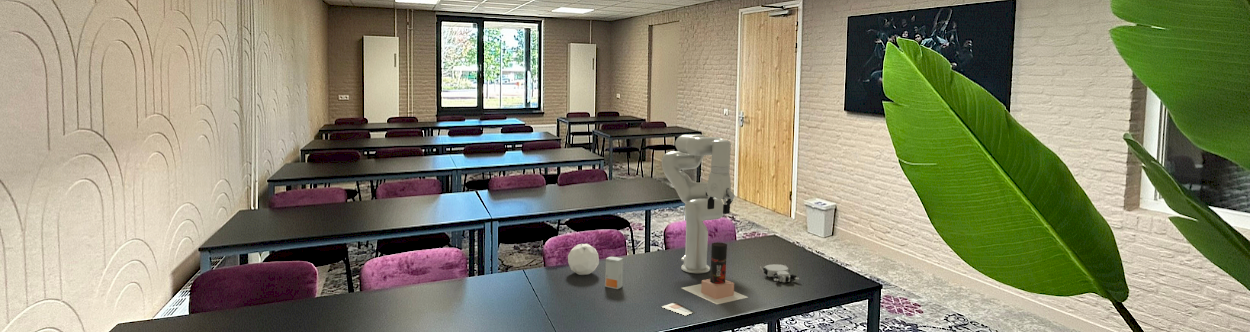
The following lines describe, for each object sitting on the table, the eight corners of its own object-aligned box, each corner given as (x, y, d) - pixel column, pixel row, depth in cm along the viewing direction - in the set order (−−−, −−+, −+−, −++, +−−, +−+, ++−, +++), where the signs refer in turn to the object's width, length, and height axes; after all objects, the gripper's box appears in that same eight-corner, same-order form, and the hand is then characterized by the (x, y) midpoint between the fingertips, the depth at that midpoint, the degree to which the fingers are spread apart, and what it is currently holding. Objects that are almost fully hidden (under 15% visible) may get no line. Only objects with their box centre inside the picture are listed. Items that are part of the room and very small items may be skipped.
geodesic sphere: (607, 266, 302) (600, 236, 308) (575, 269, 297) (569, 238, 303) (597, 278, 314) (591, 248, 320) (567, 281, 309) (561, 251, 315)
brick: (701, 292, 286) (701, 280, 285) (718, 288, 291) (719, 276, 290) (716, 299, 279) (716, 286, 278) (733, 295, 284) (734, 283, 283)
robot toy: (800, 285, 304) (784, 272, 318) (801, 275, 303) (785, 262, 317) (773, 287, 301) (758, 273, 315) (774, 277, 300) (759, 264, 314)
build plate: (680, 290, 291) (680, 287, 291) (711, 284, 300) (711, 281, 300) (716, 307, 273) (716, 304, 273) (748, 299, 282) (748, 297, 282)
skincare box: (604, 287, 293) (605, 258, 291) (609, 284, 297) (610, 255, 295) (617, 289, 290) (618, 260, 288) (622, 286, 294) (623, 258, 292)
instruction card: (661, 307, 271) (661, 306, 271) (677, 302, 277) (677, 301, 277) (685, 316, 263) (685, 315, 263) (701, 310, 269) (701, 309, 269)
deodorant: (713, 284, 280) (715, 246, 278) (707, 279, 286) (709, 242, 284) (727, 283, 282) (729, 246, 280) (721, 278, 288) (723, 242, 285)
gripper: (699, 167, 300) (697, 208, 303) (727, 174, 286) (725, 216, 288) (713, 166, 304) (711, 206, 307) (741, 172, 290) (739, 214, 293)
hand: (718, 211), depth 298 cm, fingers open, 9 cm apart
